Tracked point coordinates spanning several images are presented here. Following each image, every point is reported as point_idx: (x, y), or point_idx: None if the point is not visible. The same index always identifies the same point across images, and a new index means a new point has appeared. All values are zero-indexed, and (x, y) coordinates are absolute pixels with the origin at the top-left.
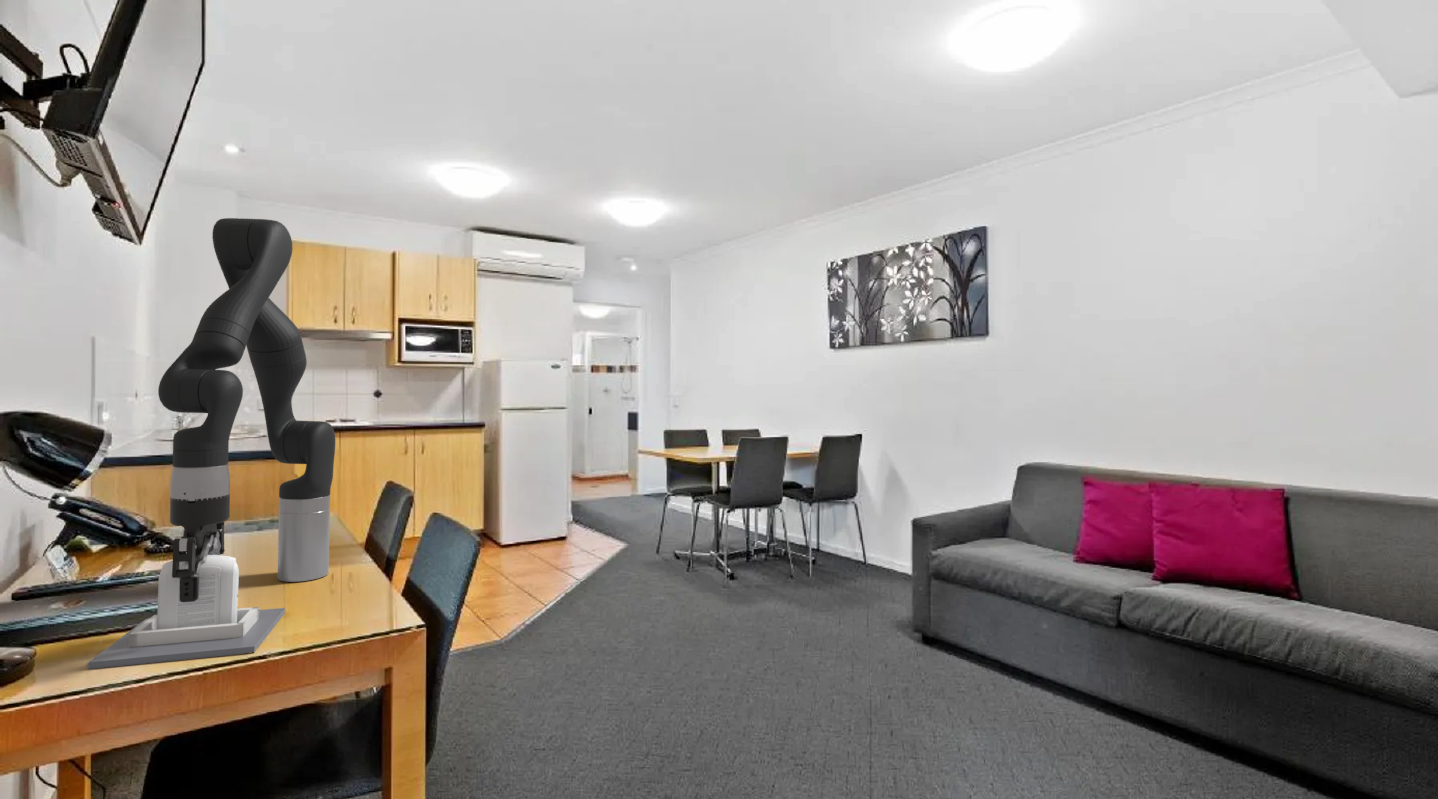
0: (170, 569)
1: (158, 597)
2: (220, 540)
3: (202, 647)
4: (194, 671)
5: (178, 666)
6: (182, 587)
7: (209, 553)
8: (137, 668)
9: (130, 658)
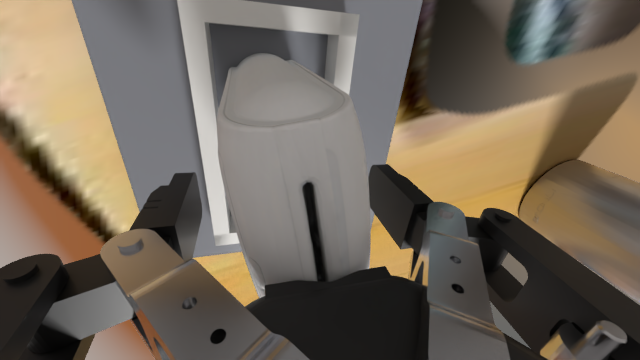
0: (232, 175)
1: (248, 74)
2: (507, 315)
3: (161, 180)
4: (52, 194)
5: (85, 153)
6: (140, 220)
7: (412, 274)
8: (68, 63)
9: (84, 36)
